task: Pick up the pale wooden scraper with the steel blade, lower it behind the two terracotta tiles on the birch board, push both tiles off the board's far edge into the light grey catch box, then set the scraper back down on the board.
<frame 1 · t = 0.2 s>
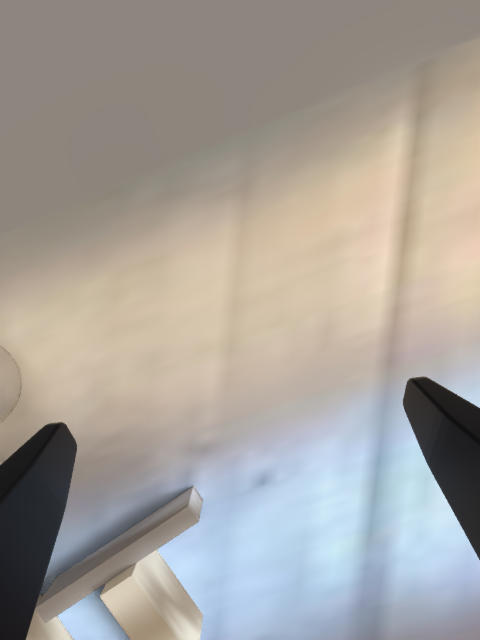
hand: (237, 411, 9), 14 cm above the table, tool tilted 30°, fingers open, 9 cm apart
scraper: (161, 584, 24), on the table
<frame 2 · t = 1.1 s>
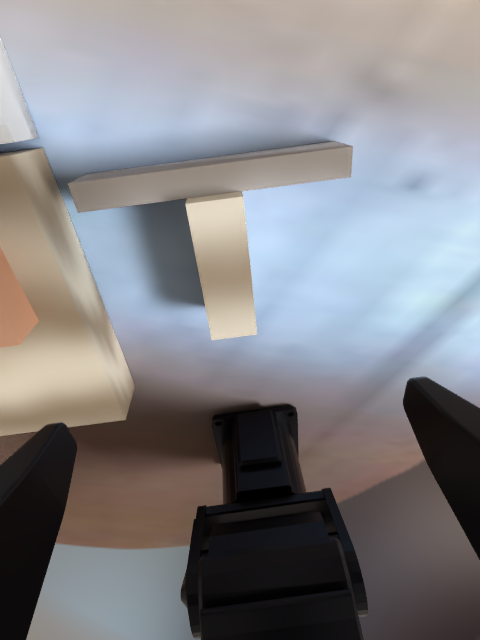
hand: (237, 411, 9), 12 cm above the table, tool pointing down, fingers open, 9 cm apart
scraper: (223, 250, 19), on the table
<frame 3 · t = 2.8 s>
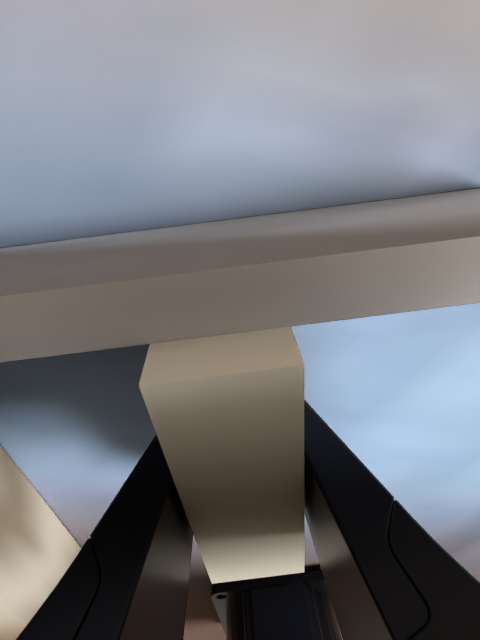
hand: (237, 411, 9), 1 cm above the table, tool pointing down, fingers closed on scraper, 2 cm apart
scraper: (235, 383, 10), on the table, touching gripper
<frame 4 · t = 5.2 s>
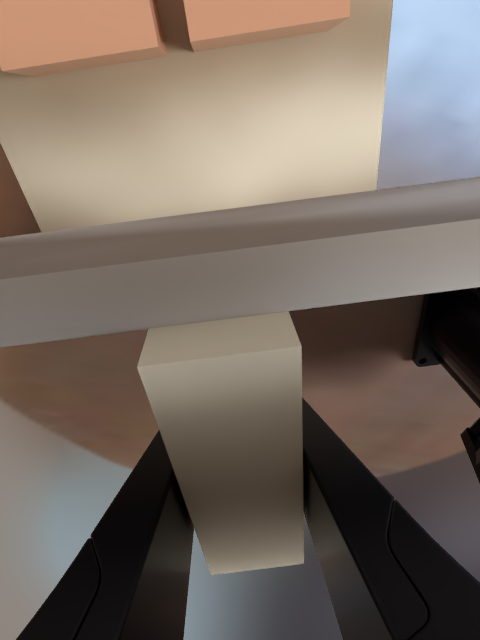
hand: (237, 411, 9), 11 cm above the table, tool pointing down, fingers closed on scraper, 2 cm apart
scraper: (234, 375, 10), point 10 cm above the table, touching gripper
board: (188, 71, 14), on the table
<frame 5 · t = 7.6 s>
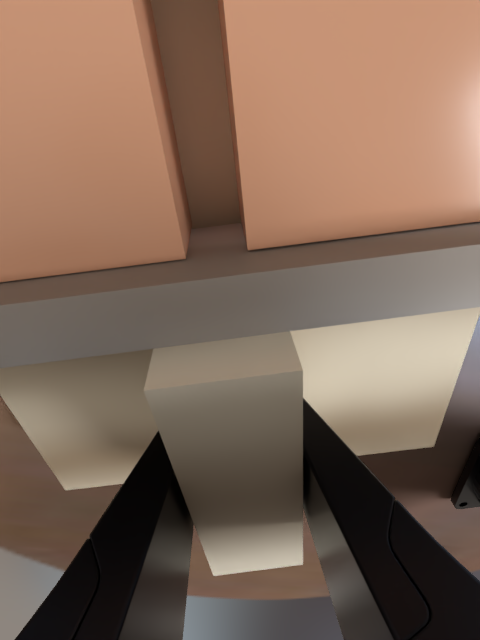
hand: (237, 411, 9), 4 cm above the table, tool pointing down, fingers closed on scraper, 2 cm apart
scraper: (235, 382, 10), point 3 cm above the table, touching gripper, tile b
tile a: (346, 83, 6), point 3 cm above the table, touching board
board: (223, 251, 11), on the table
tile b: (52, 122, 6), point 3 cm above the table, touching board, scraper
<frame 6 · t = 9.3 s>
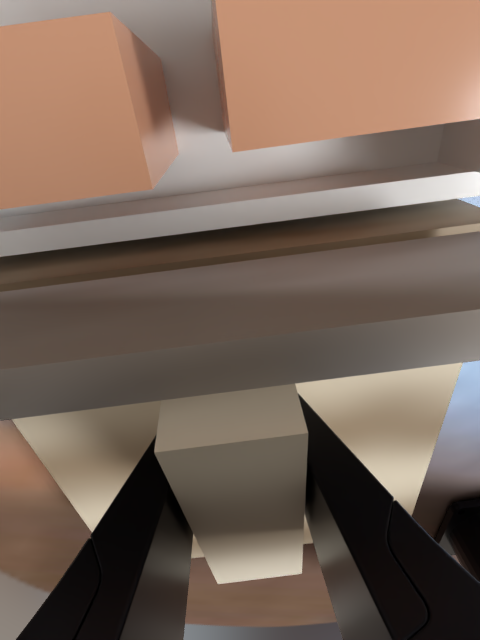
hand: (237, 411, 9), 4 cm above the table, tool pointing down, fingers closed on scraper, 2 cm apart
scraper: (238, 402, 10), point 3 cm above the table, tilted 5°, touching board, gripper
catch box: (191, 58, 8), on the table
tile a: (338, 124, 7), point 3 cm above the table, tilted 90°, touching catch box
board: (240, 392, 14), on the table
tile b: (61, 180, 7), point 3 cm above the table, tilted 90°, touching catch box
when the fingers open (4 cm above the table, at t = 10.8 s): scraper stays where it is, resting on board.
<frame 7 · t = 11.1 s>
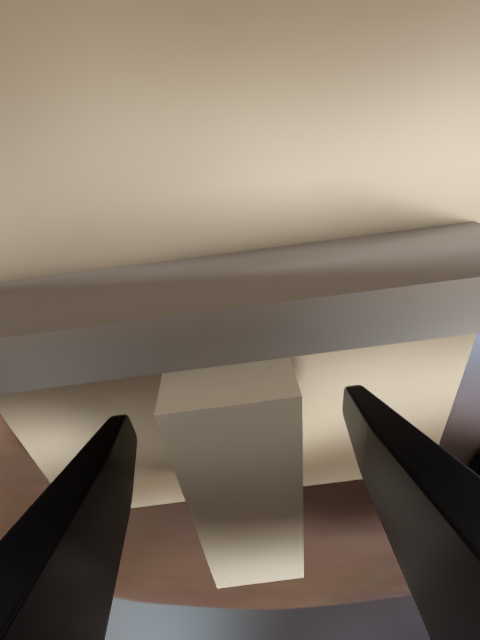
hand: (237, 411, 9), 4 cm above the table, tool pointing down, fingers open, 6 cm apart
scraper: (238, 399, 10), point 3 cm above the table, touching board
board: (224, 287, 11), on the table
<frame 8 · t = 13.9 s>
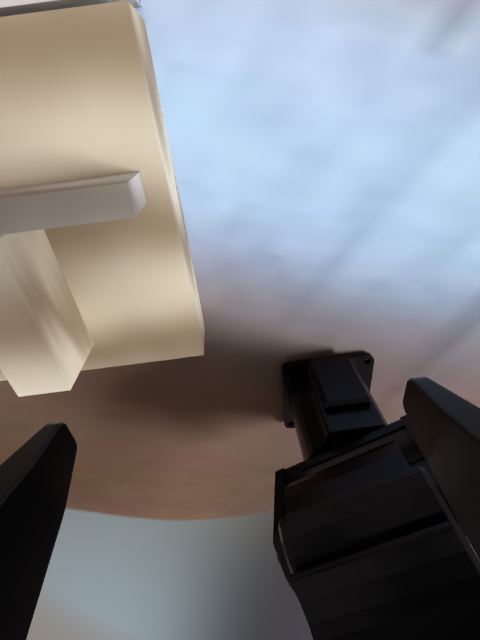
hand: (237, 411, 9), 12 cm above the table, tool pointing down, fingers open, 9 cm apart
scraper: (44, 290, 16), point 3 cm above the table, touching board
board: (49, 225, 18), on the table
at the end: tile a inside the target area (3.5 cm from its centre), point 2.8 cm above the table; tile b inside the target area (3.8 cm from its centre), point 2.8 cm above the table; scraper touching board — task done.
